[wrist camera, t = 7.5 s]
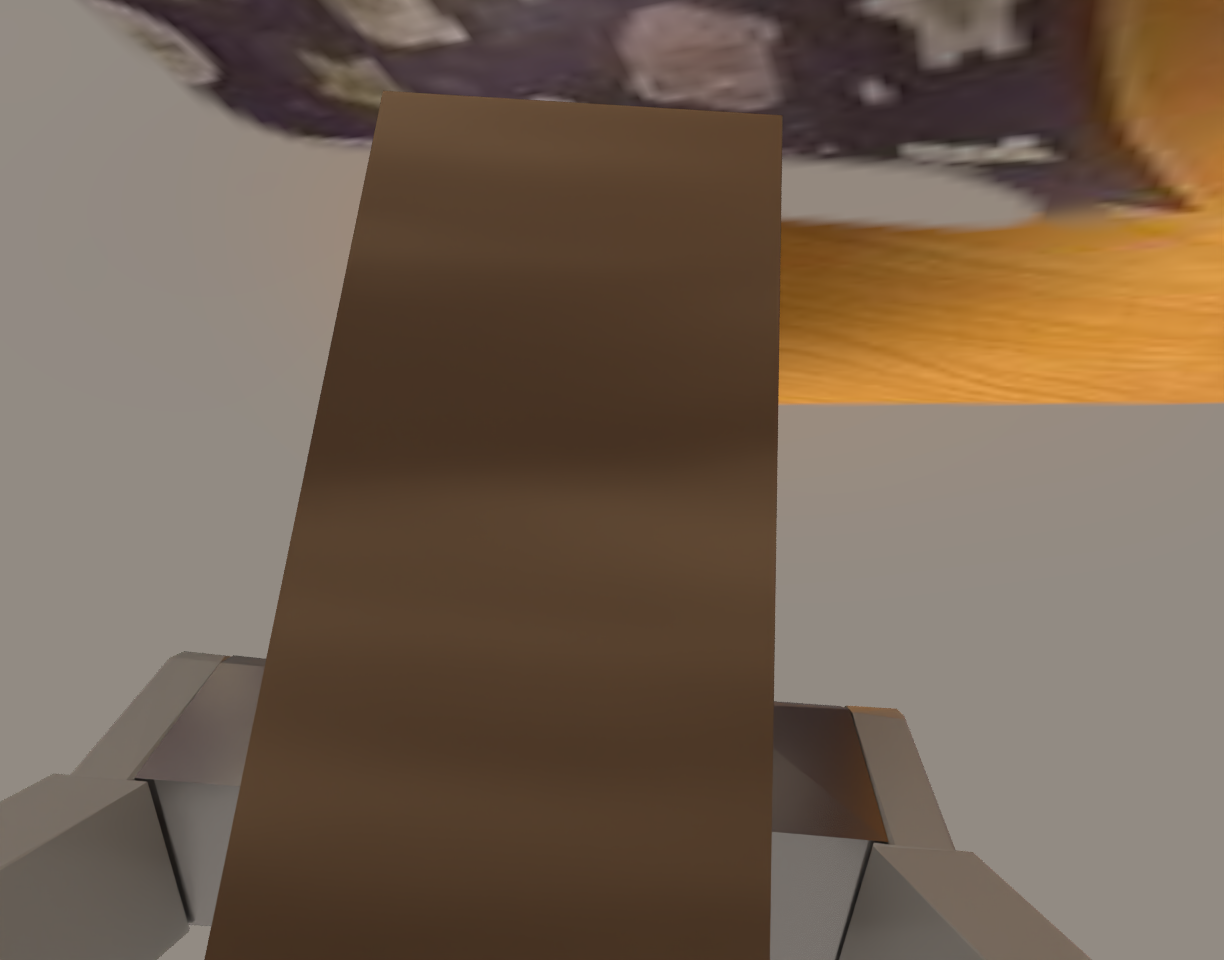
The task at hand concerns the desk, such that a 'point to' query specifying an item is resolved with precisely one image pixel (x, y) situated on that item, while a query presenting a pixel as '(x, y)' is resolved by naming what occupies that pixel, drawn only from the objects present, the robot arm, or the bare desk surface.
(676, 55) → the desk surface
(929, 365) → the desk surface
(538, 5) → the desk surface
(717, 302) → the walnut block
